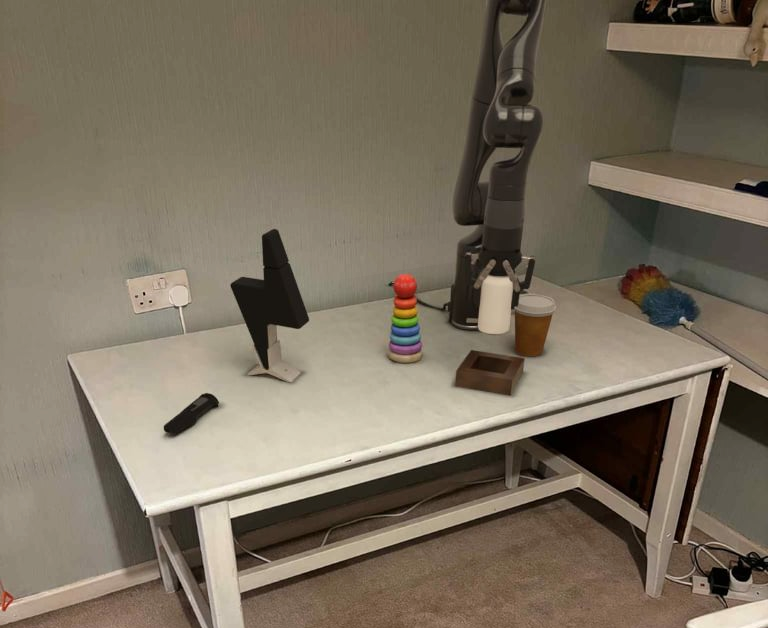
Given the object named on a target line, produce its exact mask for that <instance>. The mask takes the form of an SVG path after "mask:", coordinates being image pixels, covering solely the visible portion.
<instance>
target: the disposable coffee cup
mask: <svg viewBox="0 0 768 628" xmlns="http://www.w3.org/2000/svg"><path fill="white" fill-rule="evenodd" d="M514 310H515V313H514V351H515V353H517V354H518V355H520V356H525V357H538V356H540V355H542V354H543V351H544V347H545V344H546V340H547V337H548V334H549V330H550V325H551V322H552V318H553V314H554V313H555V311H556V310H557V306H556V303H555V299H553V298H552V297H550V296H547V295H543V294H536V293H533V294H526V295H521V296H519V304H518V306H517V307H515V308H514Z"/></svg>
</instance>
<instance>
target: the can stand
mask: <svg viewBox="0 0 768 628" xmlns="http://www.w3.org/2000/svg"><path fill="white" fill-rule="evenodd" d="M525 360H526V359H525V357H519V356H513V355H507V354H501V353H500V354H499V353H495V352H488V351H481V350H475V349H471V350H470V351H469V352H468V354H467V355H466V356H465V358H464V359H463V361H462V362H461V364H460V365H459V366H458V368H457V369H456V370H455V380H454V381H455V382H454V386H455V387H460V388H464V389H470V390H478V391H481V392H489V393H493V394H494V393H495V394H499V395H500V394H501V395H506V396H512V394H513V392H514V391H515V388H517V387H516V386H517V385H518V383H519V381H520V380H521V378H522V376H523V374H524V370H525V369H524V368H525Z"/></svg>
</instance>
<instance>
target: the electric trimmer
mask: <svg viewBox="0 0 768 628" xmlns="http://www.w3.org/2000/svg"><path fill="white" fill-rule="evenodd" d="M219 404H220V401H219V399H218V398H217V397H216V395H214V394H212V393H209V392H205V393H202V394H200V395H199V396H198V397H197V398H196V399H195V400H194V401H192V402H191V403H190V404H188V405H187V406H185V408H184V409H182V410H181V411H180V412H179V413H178V414H176V415H175V416H174V417H173V418H171V419H170V420H168V421H167V422H166V423H164V425H163V431H164V432H165V433H169V434H174V435H176V434H178V433H179V432H181V431H184V429H185V430H186V428H189V427H190V426H192V425H194V424H196V423H197V420H198V418H199V417H201V416H202V415H203V414H204V413H206V412H208V410H210V409H212V408H213V407H214V408H217V407H219Z"/></svg>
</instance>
